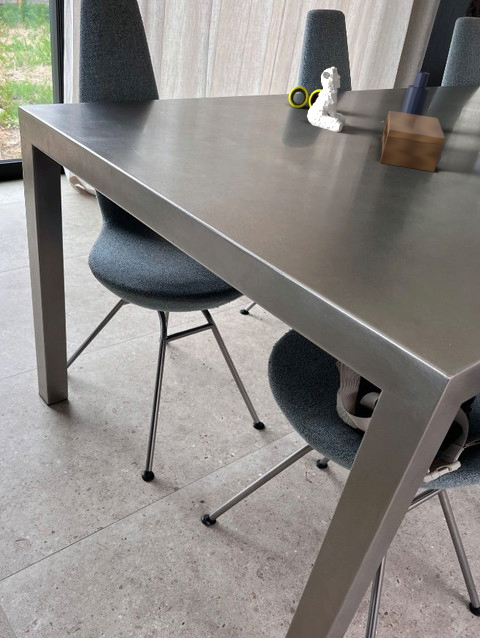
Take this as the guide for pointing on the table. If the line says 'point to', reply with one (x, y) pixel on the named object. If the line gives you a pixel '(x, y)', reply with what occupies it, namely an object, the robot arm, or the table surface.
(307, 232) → the table surface
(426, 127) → the wooden block
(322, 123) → the seated beast figurine
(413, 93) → the bottle
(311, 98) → the opera glasses
